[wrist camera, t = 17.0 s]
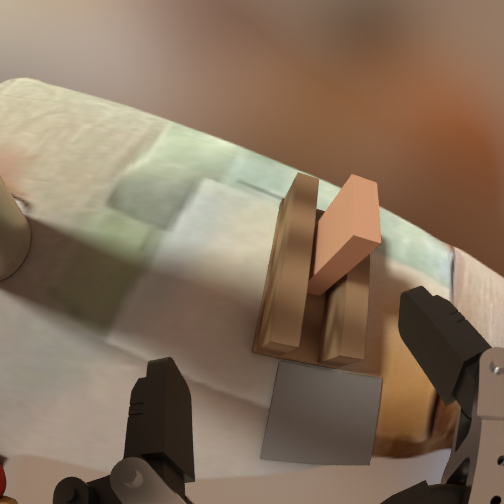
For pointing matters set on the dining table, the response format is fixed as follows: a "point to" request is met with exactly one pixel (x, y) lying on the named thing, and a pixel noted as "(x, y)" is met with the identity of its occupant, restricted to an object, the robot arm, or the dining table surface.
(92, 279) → the dining table surface
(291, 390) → the mat
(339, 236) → the block
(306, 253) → the rack
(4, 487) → the kendama
